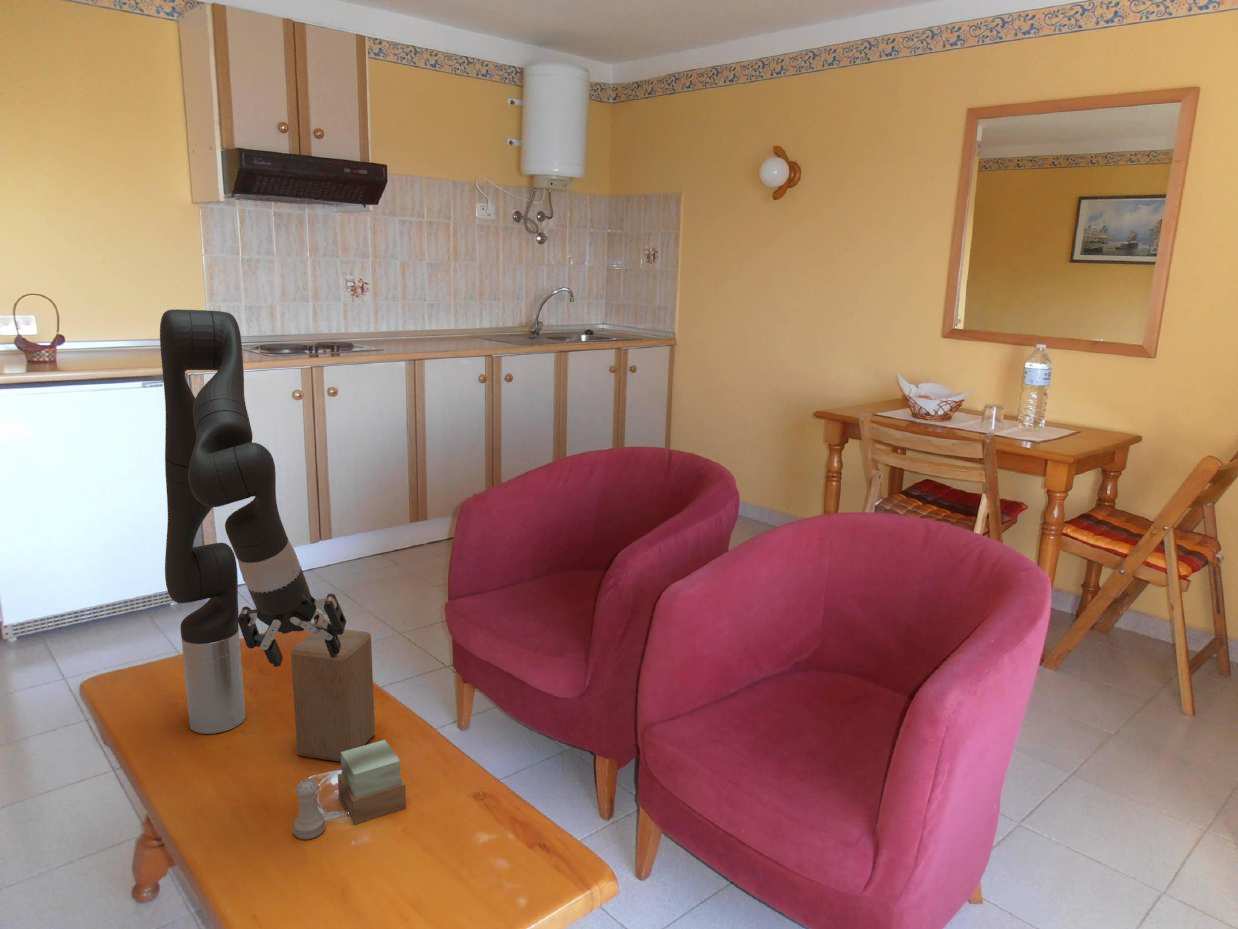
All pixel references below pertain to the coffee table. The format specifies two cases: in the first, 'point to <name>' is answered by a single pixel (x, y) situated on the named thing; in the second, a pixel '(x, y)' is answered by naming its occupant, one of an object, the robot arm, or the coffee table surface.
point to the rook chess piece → (308, 811)
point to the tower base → (371, 802)
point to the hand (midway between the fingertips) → (307, 658)
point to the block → (333, 695)
